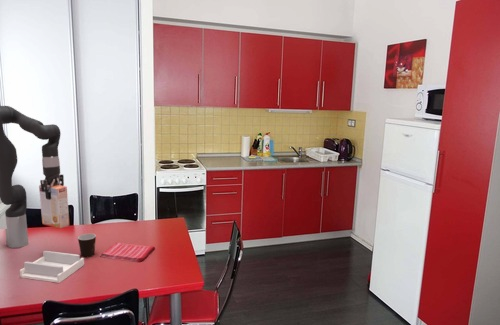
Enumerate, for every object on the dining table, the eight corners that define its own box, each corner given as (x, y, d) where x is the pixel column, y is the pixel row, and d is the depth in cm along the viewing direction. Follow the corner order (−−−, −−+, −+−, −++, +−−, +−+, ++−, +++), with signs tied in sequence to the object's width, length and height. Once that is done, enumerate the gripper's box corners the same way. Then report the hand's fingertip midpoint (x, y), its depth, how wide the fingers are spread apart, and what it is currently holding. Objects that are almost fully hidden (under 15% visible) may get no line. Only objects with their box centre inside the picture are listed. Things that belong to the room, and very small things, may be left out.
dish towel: (141, 263, 187) (141, 258, 187) (99, 258, 191) (99, 253, 191) (156, 249, 204) (156, 245, 203) (117, 245, 208) (116, 240, 207)
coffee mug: (90, 259, 189) (89, 240, 187) (75, 257, 190) (74, 238, 188) (103, 249, 200) (102, 232, 198) (89, 248, 202) (88, 230, 200)
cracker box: (70, 225, 189) (67, 186, 185) (59, 229, 183) (56, 188, 179) (52, 220, 195) (49, 182, 191) (41, 224, 190) (38, 184, 186)
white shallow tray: (20, 277, 169) (19, 264, 168) (48, 260, 186) (47, 248, 185) (59, 282, 165) (58, 270, 164) (84, 264, 183) (83, 253, 181)
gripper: (54, 162, 191) (56, 193, 194) (33, 167, 177) (36, 200, 180) (67, 162, 190) (69, 193, 193) (47, 168, 176) (50, 201, 179)
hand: (53, 197), depth 186 cm, fingers closed on cracker box, 7 cm apart
